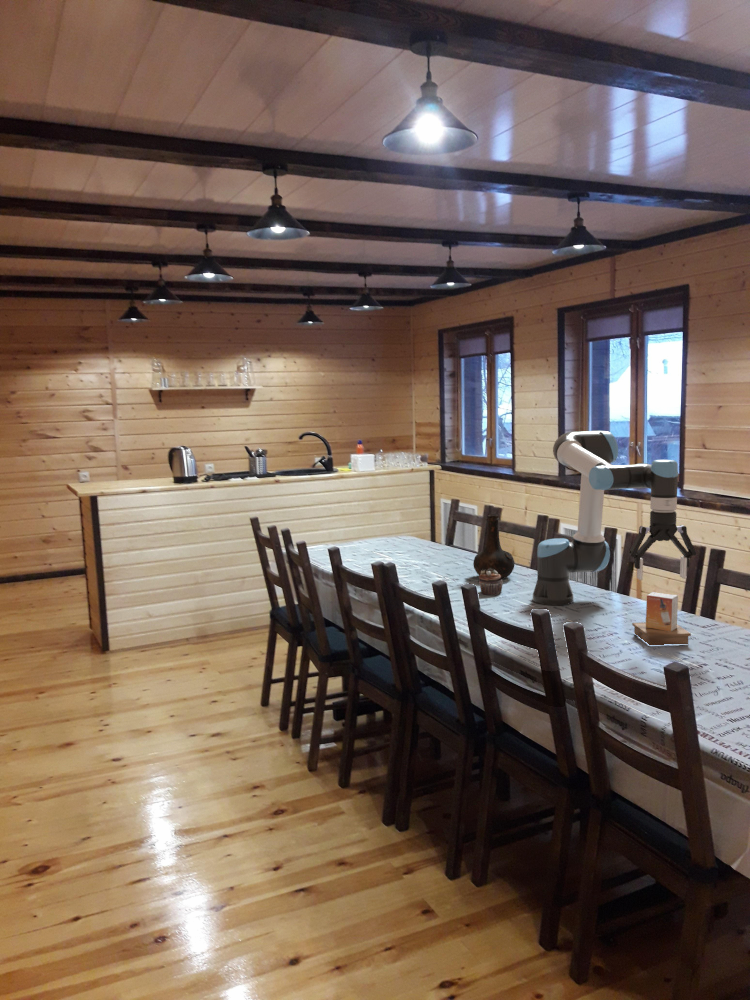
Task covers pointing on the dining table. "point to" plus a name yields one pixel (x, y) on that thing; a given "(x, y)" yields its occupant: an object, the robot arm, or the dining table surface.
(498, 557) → the glass bottle
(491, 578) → the cupcake
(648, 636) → the stand
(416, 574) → the dining table surface
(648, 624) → the small box
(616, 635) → the dining table surface
